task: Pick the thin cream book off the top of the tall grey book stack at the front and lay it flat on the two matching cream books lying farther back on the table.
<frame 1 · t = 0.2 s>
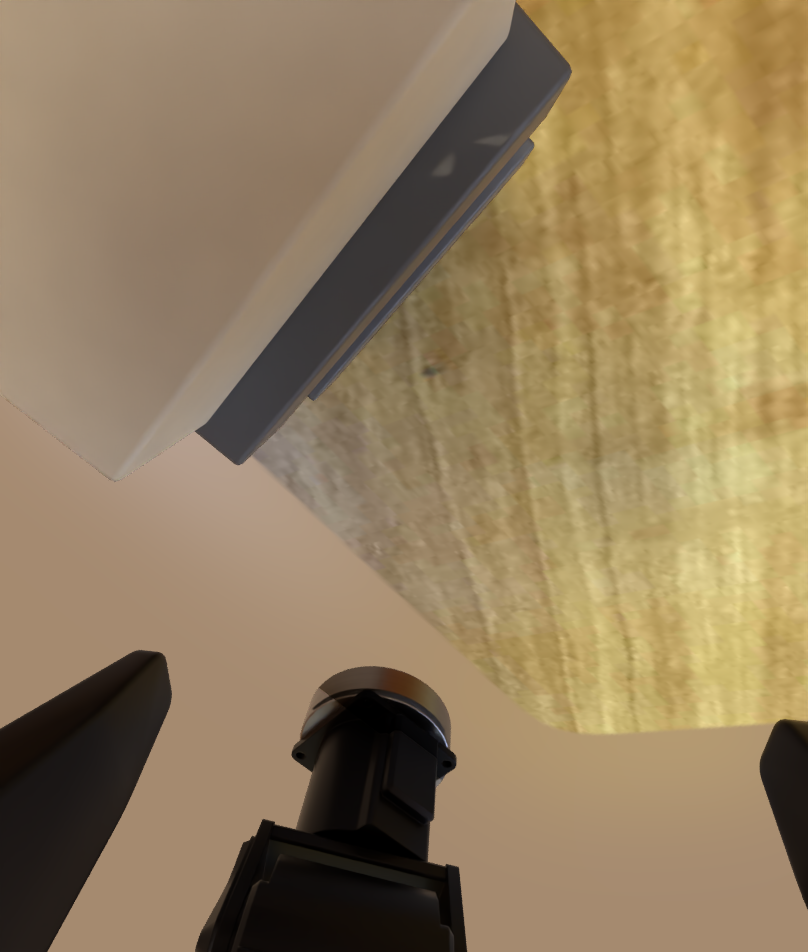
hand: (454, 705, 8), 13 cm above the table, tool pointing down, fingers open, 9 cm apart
grey stack: (290, 135, 16), on the table
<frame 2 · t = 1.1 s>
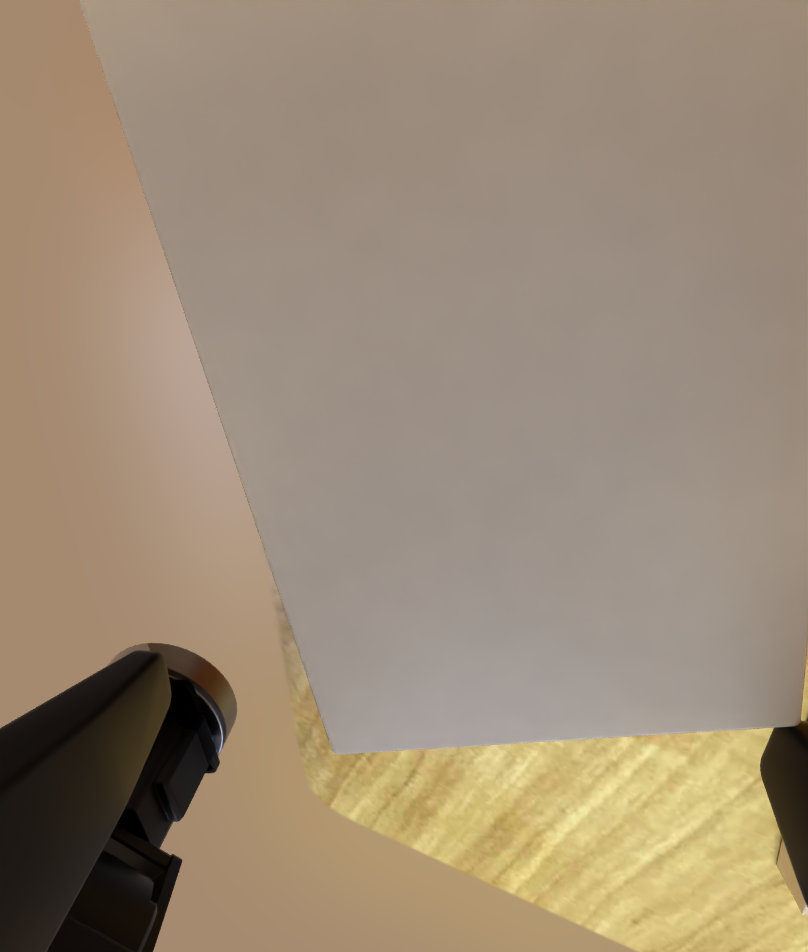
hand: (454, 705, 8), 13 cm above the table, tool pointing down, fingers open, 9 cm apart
cream book: (493, 362, 8), point 11 cm above the table, touching grey stack
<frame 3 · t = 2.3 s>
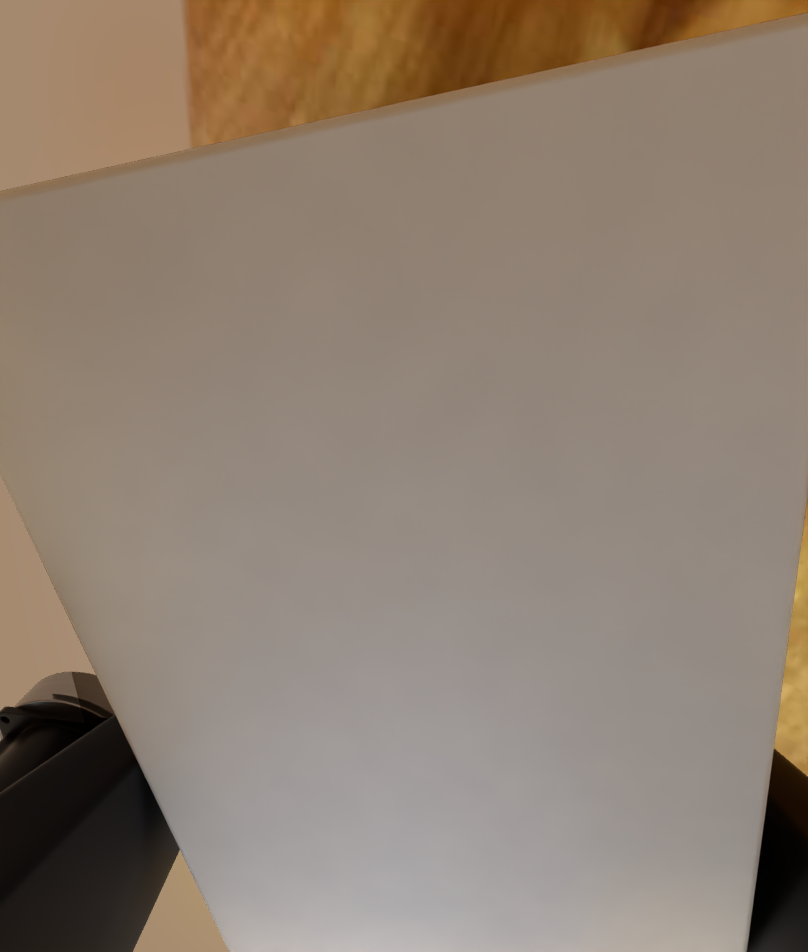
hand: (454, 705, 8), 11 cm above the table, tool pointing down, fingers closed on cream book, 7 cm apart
cream book: (432, 579, 7), point 11 cm above the table, touching grey stack, gripper
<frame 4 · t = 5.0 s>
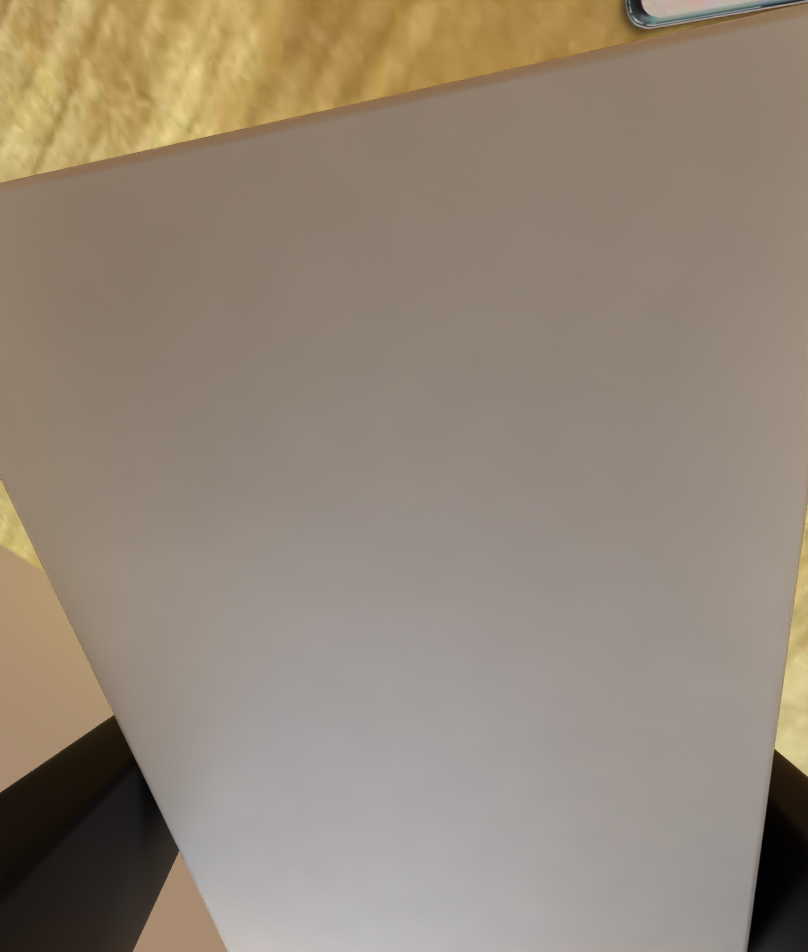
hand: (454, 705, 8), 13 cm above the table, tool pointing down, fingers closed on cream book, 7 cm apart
cream book: (431, 577, 7), point 13 cm above the table, touching gripper
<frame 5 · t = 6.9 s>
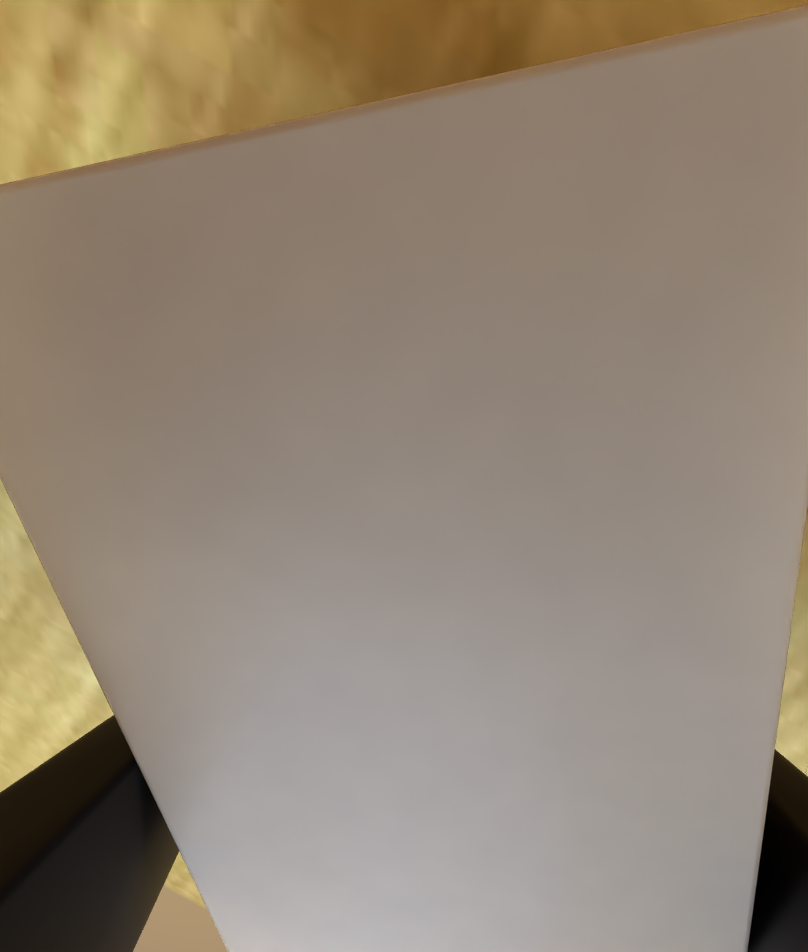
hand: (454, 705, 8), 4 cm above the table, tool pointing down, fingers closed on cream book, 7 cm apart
cream book: (432, 577, 7), point 4 cm above the table, touching gripper
when the fingers open (3 cm above the table, at t = 8.0 s): cream book stays where it is, resting on cream stack.
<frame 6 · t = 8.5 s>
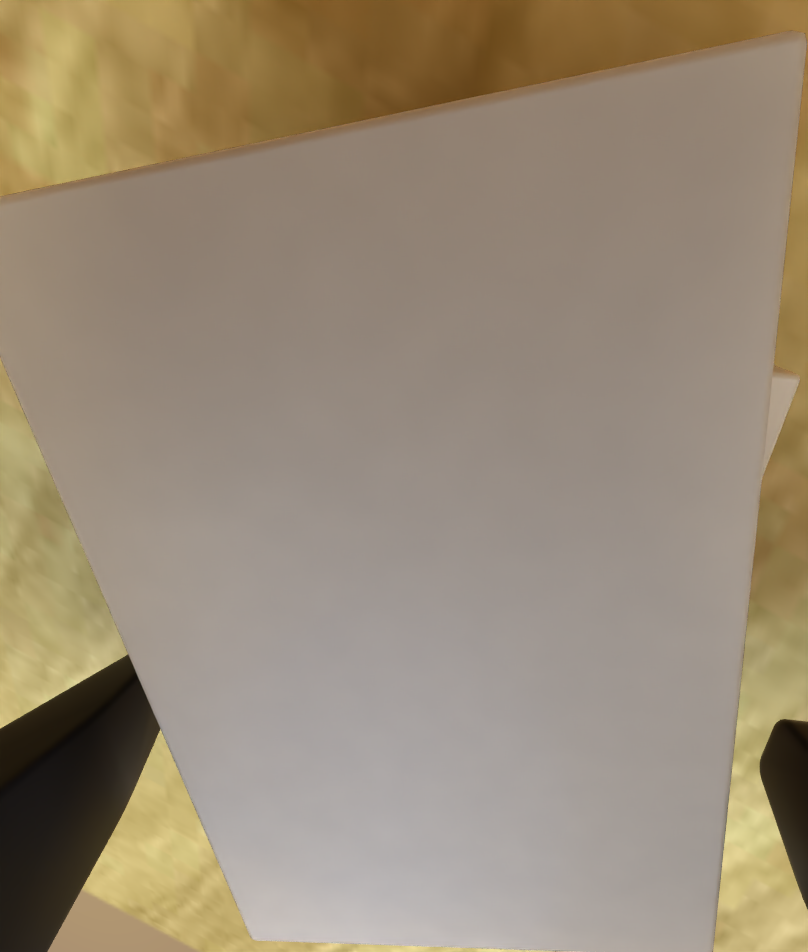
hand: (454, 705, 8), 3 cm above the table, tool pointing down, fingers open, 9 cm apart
cream stack: (455, 584, 11), on the table
cream book: (429, 555, 8), point 2 cm above the table, touching cream stack
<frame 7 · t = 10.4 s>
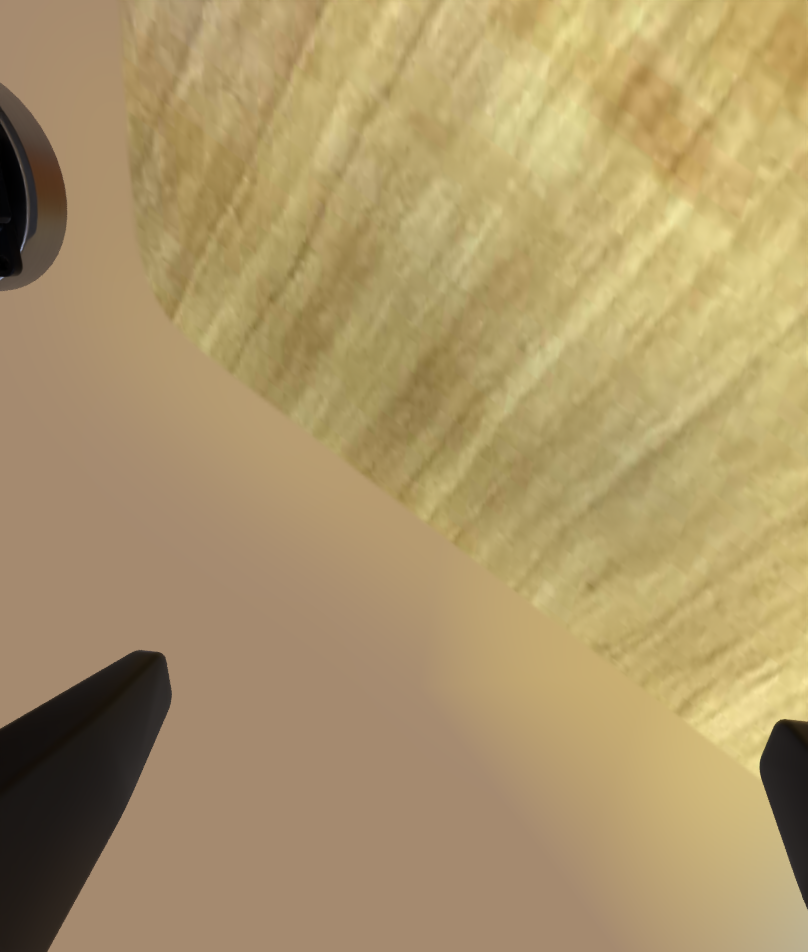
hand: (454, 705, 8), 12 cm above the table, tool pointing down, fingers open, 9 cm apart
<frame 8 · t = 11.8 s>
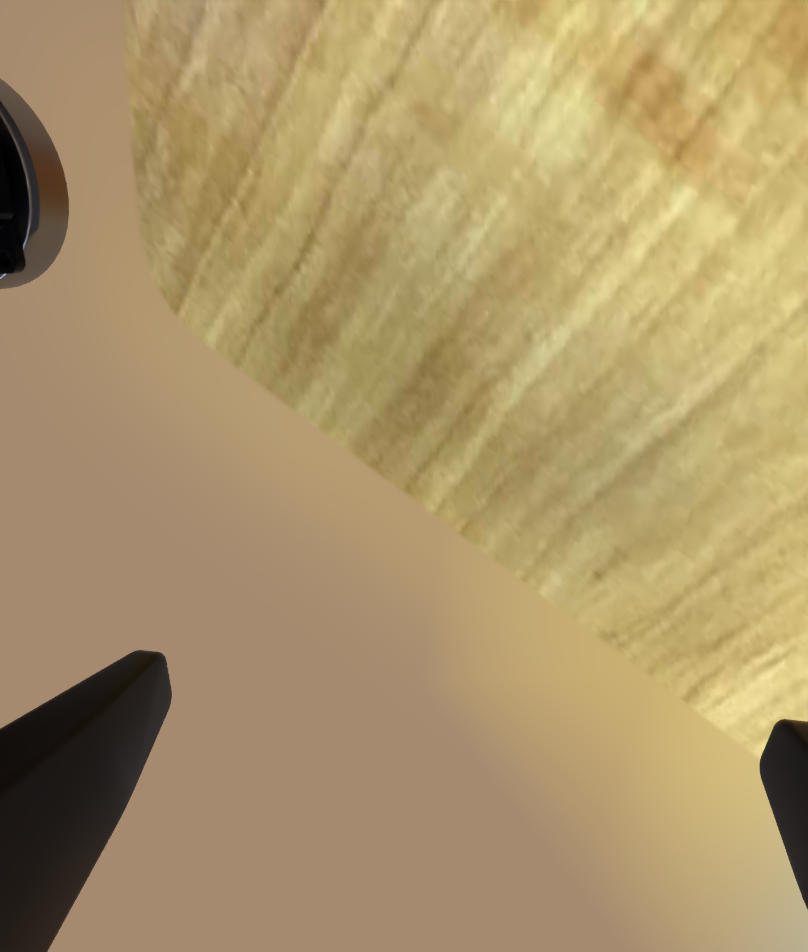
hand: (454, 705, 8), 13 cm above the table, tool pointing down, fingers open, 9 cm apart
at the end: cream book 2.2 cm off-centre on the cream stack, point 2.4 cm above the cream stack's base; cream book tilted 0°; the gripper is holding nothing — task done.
